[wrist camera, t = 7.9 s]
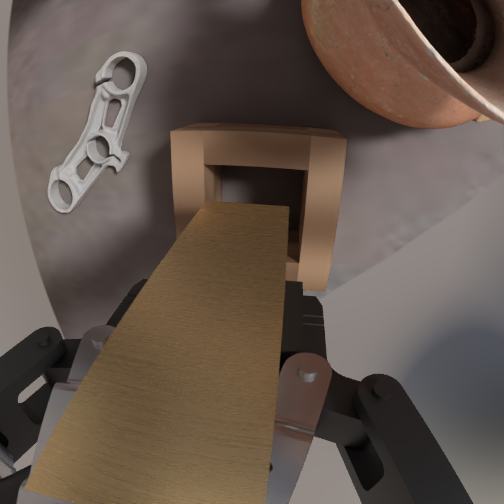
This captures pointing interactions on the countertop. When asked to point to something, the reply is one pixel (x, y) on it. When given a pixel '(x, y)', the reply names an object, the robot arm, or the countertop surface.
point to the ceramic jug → (414, 57)
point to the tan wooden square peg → (183, 376)
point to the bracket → (99, 134)
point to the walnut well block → (275, 156)
